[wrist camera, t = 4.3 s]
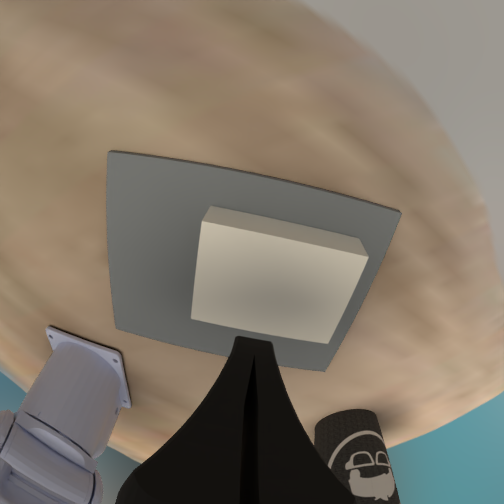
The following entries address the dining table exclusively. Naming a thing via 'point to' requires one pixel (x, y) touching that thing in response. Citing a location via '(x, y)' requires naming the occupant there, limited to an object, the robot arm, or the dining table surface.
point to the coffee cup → (357, 455)
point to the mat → (187, 242)
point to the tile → (274, 275)
